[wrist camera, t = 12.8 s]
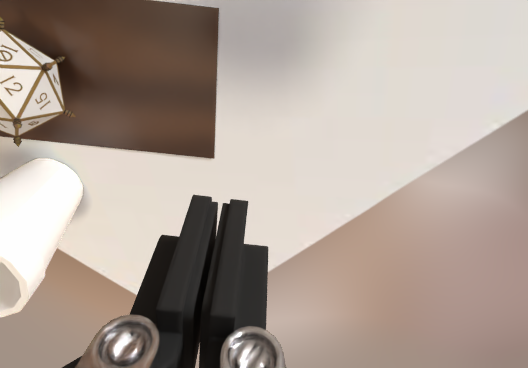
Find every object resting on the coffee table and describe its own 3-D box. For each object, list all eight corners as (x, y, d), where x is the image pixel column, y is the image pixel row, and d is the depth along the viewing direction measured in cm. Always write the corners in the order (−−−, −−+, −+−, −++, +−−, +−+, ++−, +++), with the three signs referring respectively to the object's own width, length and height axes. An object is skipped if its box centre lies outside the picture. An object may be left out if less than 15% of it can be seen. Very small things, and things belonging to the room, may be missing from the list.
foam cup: (1, 197, 39) (-104, 293, 28) (10, 129, 34) (-111, 212, 24) (88, 229, 41) (21, 329, 30) (108, 169, 37) (38, 262, 26)
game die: (50, 74, 35) (-57, 130, 30) (8, -15, 28) (-140, 38, 23) (113, 118, 33) (9, 187, 27) (85, 32, 26) (-61, 104, 20)
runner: (-96, -30, 27) (-97, -29, 27) (218, 8, 28) (218, 8, 28) (-32, 132, 35) (-33, 132, 35) (214, 157, 36) (214, 158, 35)
